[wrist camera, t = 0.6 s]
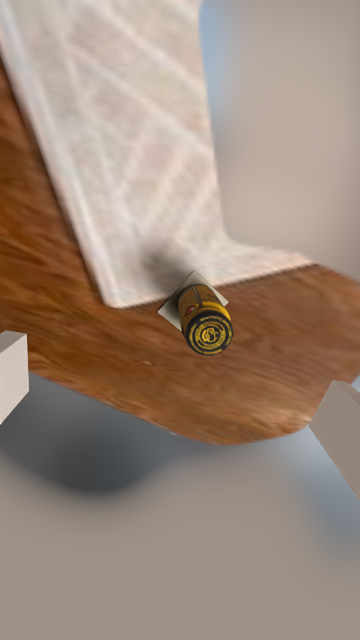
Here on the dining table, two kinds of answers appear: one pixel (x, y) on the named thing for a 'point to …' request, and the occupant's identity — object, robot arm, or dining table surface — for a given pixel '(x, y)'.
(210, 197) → the dining table surface
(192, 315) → the condiment
